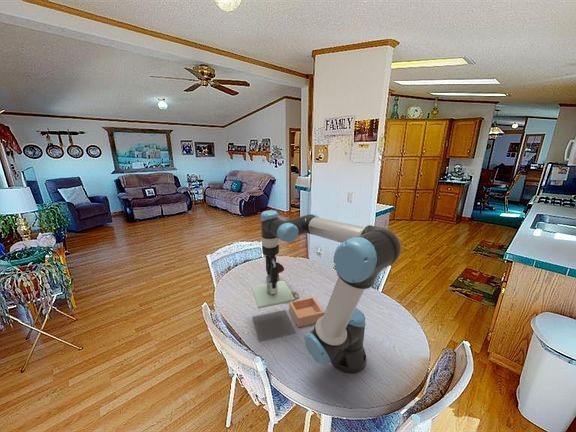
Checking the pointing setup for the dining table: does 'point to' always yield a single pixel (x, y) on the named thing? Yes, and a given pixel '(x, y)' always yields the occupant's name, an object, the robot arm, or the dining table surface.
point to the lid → (268, 299)
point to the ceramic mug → (293, 292)
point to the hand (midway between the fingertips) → (272, 289)
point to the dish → (305, 311)
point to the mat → (273, 325)
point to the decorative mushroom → (279, 269)
